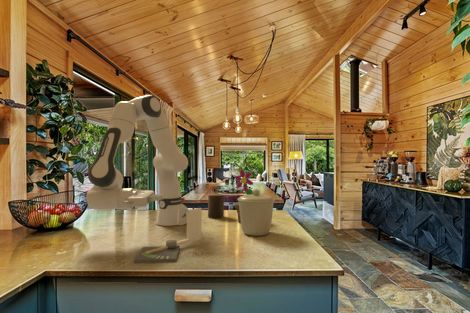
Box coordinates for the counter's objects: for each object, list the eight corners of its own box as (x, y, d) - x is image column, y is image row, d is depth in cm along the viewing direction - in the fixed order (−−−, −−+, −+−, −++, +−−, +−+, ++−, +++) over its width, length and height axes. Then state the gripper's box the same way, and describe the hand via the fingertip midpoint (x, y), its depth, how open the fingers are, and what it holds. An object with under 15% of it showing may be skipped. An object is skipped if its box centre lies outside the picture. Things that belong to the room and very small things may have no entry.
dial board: (143, 249, 106) (143, 246, 106) (179, 248, 108) (179, 245, 108) (133, 262, 93) (133, 259, 93) (175, 261, 94) (175, 258, 94)
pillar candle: (217, 219, 161) (217, 193, 162) (204, 217, 167) (205, 192, 167) (226, 216, 170) (227, 192, 170) (214, 214, 175) (214, 191, 175)
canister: (231, 230, 136) (231, 188, 136) (263, 227, 143) (263, 186, 143) (247, 240, 119) (247, 192, 119) (282, 236, 126) (282, 190, 127)
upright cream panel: (197, 237, 118) (197, 207, 119) (203, 239, 116) (203, 208, 116) (142, 252, 99) (143, 216, 99) (148, 255, 96) (149, 218, 96)
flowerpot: (229, 222, 153) (229, 169, 153) (243, 218, 164) (243, 168, 165) (251, 226, 144) (251, 169, 145) (264, 221, 156) (264, 169, 157)
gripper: (120, 195, 105) (157, 193, 107) (134, 188, 125) (165, 187, 127) (120, 211, 105) (157, 210, 107) (134, 202, 126) (165, 200, 127)
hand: (161, 197), depth 117 cm, fingers closed
